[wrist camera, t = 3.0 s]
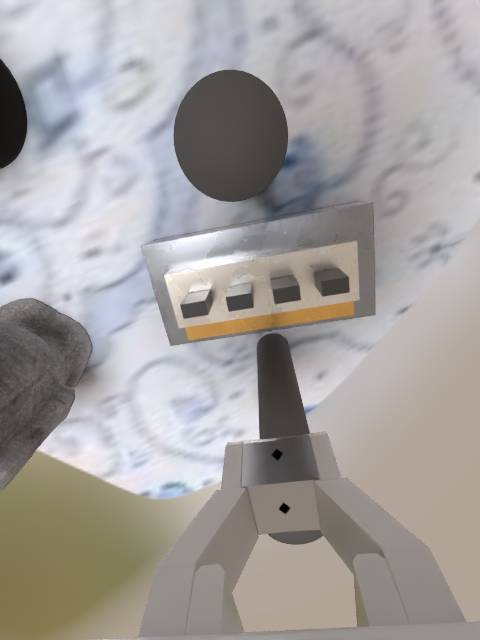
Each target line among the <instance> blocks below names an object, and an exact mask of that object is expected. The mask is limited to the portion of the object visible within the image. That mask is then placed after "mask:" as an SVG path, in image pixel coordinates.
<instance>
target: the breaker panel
mask: <svg viewBox="0 0 480 640" xmlns="http://www.w3.org/2000/svg"><path fill="white" fill-rule="evenodd" d="M141 249H142V252H143V256H144V259H145V262H146V266H147V269H148V272H149V276H150V279H151V282H152V286H153V289H154V292H155V296H156V299H157V302H158V306H159V309H160V312H161V316H162V319H163V322H164V326H165V329H166V332H167V336H168V339H169V342H170V346H173V345H180V344H186V343H193V342H200V341H206V340H213V339H219V338H226V337H233V336H239V335H246V334H252V333H259V332H266V331H272V330H279V329H285V328H292V327H299V326H305V325H312V324H319V323H325V322H332V321H338V320H345V319H352V318H358V317H365V316H371V315H375V265H374V215H373V202H360V201H357V202H352V203H346V204H341V205H336V206H331V207H325V208H320V209H315V210H309V211H304V212H299V213H294V214H288V215H283V216H278V217H273V218H267V219H262V220H257V221H252V222H246V223H241V224H236V225H231V226H225V227H220V228H215V229H210V230H204V231H199V232H194V233H188V234H183V235H178V236H173V237H167V238H162V239H157V240H153V241H151V242H149V243H146V244H144V245H142V246H141ZM338 268H339V269H340V270H341V271H343V272H344V273H345V274H346V275H347V276H349V288H350V292H349V293H343V294H337V295H330V296H324V297H322V295H321V294H320V292H319V291H318V290H317V288H316V287H315V277H314V272H320V271H326V270H332V269H338ZM290 276H295V278H296V280H297V281H298V283H299V286H300V295H301V300H299V301H293V302H287V303H281V304H275V303H274V298H273V293H272V286H271V280H273V279H279V278H285V277H290ZM249 283H252V288H253V294H254V308H249V309H243V310H237V311H231V312H228V307H227V302H226V293H227V290H228V287H231V286H237V285H243V284H249ZM208 290H210V293H211V297H212V302H213V304H212V307H211V310H210V312H209V315H206V316H199V317H193V318H187V319H184V318H183V314H182V311H181V307H180V304H181V302H182V301H183V299H184V298H185V296H186V295H187V294H190V293H196V292H202V291H208Z"/></svg>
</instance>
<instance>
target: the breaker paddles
mask: <svg viewBox="0 0 480 640" xmlns="http://www.w3.org/2000/svg"><path fill="white" fill-rule="evenodd" d="M314 277H315V287H316V288H317V290H318V291H319V292H320V294H321V295H322V297H324V296H330V295H337V294H343V293H349V292H350V288H349V276H347V275H346V274H345V273H344V272H343V271H341V270H340V269H339V268H338V269H332V270H326V271H320V272H314ZM271 286H272V293H273V298H274V303H275V304H281V303H287V302H293V301H299V300H301V295H300V286H299V283H298V281H297V280H296V278H295V276H290V277H285V278H279V279H273V280H271ZM226 302H227V307H228V312H231V311H237V310H243V309H249V308H254V294H253V288H252V283H249V284H243V285H237V286H231V287H228V290H227V293H226ZM212 304H213V302H212V297H211V293H210V290H208V291H202V292H196V293H190V294H187V295H186V296H185V298H184V299H183V301H182V302H181V304H180V307H181V311H182V314H183V318H184V319H187V318H193V317H199V316H206V315H209V312H210V310H211V307H212Z"/></svg>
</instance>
